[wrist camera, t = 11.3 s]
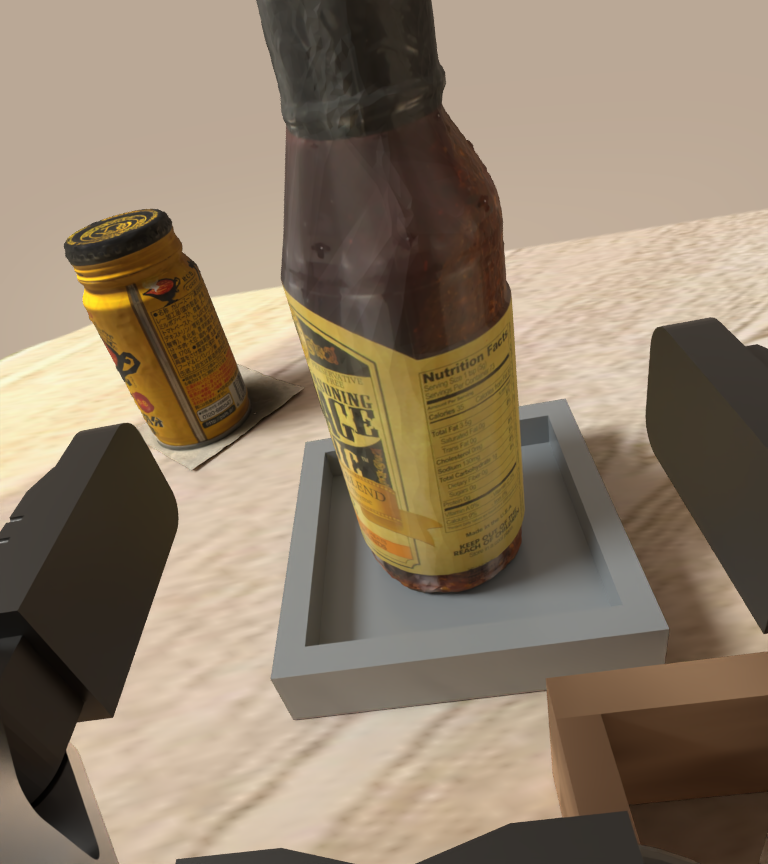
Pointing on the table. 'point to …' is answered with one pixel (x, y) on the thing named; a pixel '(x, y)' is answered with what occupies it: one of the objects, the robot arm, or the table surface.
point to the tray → (464, 594)
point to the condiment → (168, 337)
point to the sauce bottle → (399, 288)
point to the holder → (659, 733)
